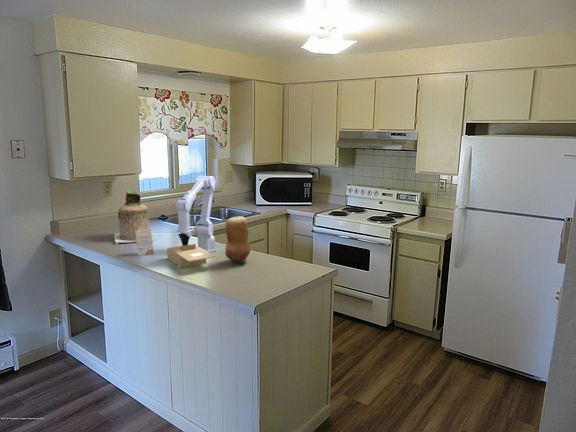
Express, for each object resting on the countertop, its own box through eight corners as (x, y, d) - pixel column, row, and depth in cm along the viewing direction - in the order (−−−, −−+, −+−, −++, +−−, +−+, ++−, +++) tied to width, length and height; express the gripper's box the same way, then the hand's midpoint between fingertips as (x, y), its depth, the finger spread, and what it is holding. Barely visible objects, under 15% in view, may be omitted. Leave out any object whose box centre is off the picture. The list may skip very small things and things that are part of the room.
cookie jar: (156, 241, 271) (153, 191, 265) (114, 245, 262) (110, 193, 256) (153, 232, 294) (150, 186, 288) (114, 235, 285) (110, 188, 279)
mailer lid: (199, 247, 233) (199, 242, 233) (216, 257, 217) (215, 251, 216) (173, 252, 225) (173, 246, 225) (188, 261, 209) (188, 255, 208)
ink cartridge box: (153, 252, 248) (152, 227, 245) (153, 254, 243) (151, 229, 240) (138, 253, 245) (136, 228, 242) (137, 255, 241) (135, 230, 238)
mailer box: (191, 254, 243) (190, 244, 242) (206, 263, 227) (205, 252, 226) (167, 258, 235) (166, 248, 234) (181, 268, 219) (180, 256, 218)
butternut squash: (223, 259, 233) (222, 215, 228) (247, 257, 238) (246, 213, 233) (229, 267, 221) (227, 220, 216) (254, 264, 225) (253, 218, 220)
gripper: (171, 220, 231) (173, 244, 234) (182, 225, 220) (183, 250, 223) (184, 219, 236) (185, 242, 238) (194, 223, 224) (195, 248, 227)
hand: (185, 246), depth 231 cm, fingers closed
